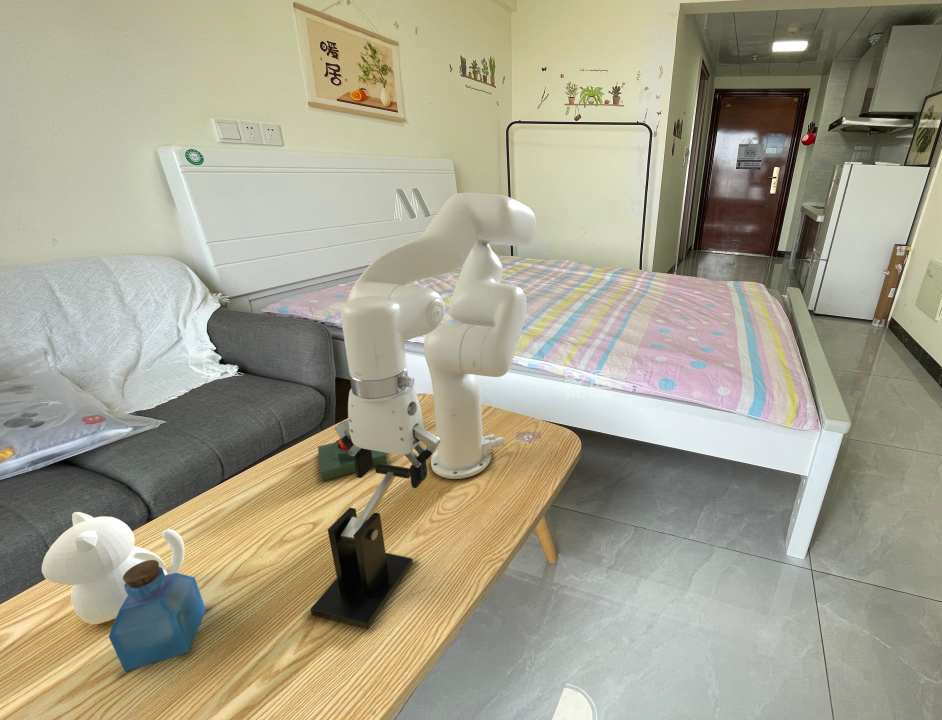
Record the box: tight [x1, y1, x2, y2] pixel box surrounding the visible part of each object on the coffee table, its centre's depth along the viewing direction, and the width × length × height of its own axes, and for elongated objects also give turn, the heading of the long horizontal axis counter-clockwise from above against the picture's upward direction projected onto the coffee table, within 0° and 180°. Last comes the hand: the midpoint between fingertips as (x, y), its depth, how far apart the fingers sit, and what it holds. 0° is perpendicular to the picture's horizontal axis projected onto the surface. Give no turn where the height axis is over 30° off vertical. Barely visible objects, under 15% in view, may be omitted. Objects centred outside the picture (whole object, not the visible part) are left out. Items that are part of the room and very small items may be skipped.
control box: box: [317, 439, 388, 482], centre depth 93 cm, size 12×10×4 cm
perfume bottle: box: [108, 560, 207, 672], centre depth 55 cm, size 6×6×12 cm
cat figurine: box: [41, 511, 185, 625], centre depth 60 cm, size 9×12×15 cm
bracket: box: [309, 507, 414, 630], centre depth 63 cm, size 11×9×13 cm
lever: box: [341, 463, 411, 545], centre depth 65 cm, size 12×6×2 cm, turn 169°
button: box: [338, 437, 349, 450], centre depth 92 cm, size 4×4×2 cm
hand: (392, 477), depth 69 cm, fingers open, 9 cm apart
